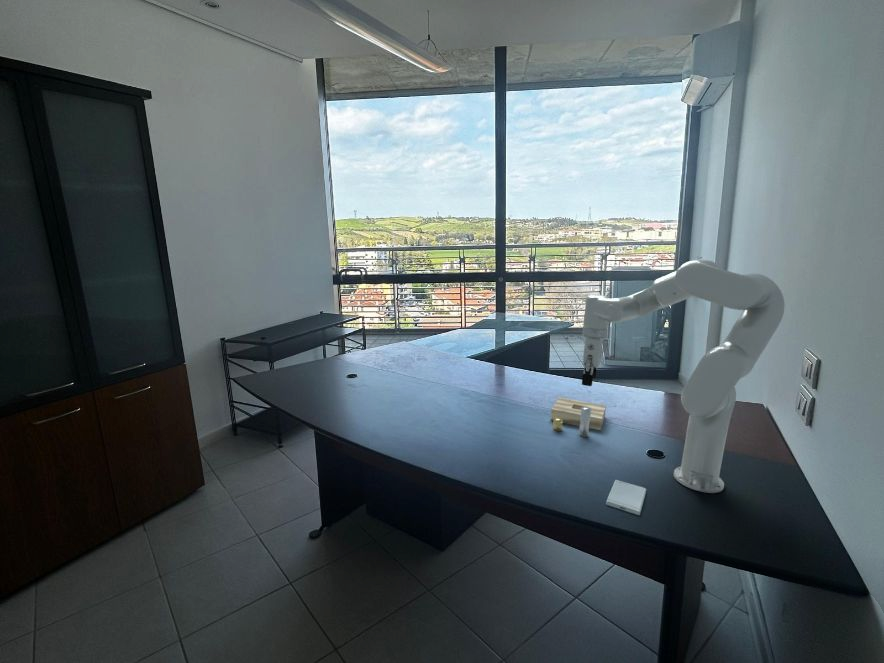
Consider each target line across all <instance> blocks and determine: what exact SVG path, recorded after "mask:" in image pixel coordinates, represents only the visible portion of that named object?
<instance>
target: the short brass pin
mask: <svg viewBox="0 0 884 663" xmlns="http://www.w3.org/2000/svg"><path fill="white" fill-rule="evenodd" d="M552 423H553V426H552V430H553V431H554V432H563V426H564V425H563V424H564V423H563V419H562V418H558V417H556V418H554V421H553V422H552Z"/></svg>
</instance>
